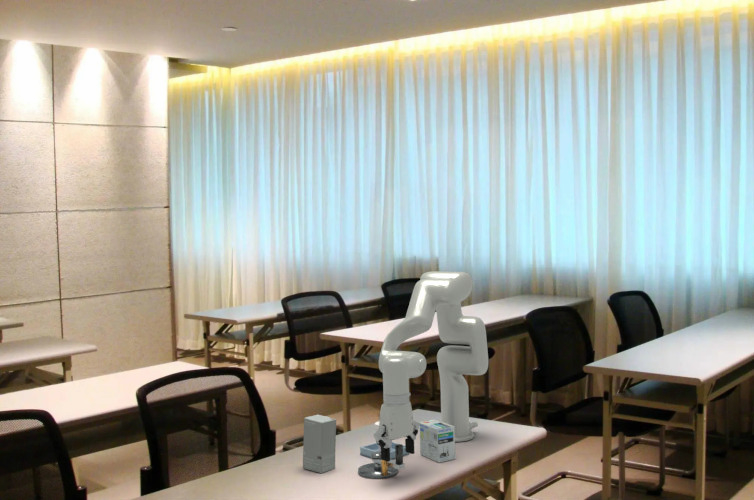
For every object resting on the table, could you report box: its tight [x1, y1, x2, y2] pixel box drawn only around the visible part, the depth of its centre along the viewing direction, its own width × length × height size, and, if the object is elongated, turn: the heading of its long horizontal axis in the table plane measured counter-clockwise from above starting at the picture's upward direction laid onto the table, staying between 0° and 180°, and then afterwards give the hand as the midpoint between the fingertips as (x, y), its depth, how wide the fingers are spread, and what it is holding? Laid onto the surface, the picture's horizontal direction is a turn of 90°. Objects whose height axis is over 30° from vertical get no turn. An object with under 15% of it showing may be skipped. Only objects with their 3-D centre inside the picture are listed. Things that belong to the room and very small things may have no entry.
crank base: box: [357, 459, 399, 480], centre depth 242 cm, size 12×12×6 cm
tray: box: [359, 441, 410, 460], centre depth 260 cm, size 11×11×2 cm
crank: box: [370, 443, 406, 470], centre depth 239 cm, size 12×4×7 cm, turn 45°
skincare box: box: [302, 414, 337, 474], centre depth 247 cm, size 8×7×16 cm
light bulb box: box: [419, 419, 456, 463], centre depth 255 cm, size 11×7×11 cm, turn 31°
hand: (397, 456), depth 235 cm, fingers open, 9 cm apart
